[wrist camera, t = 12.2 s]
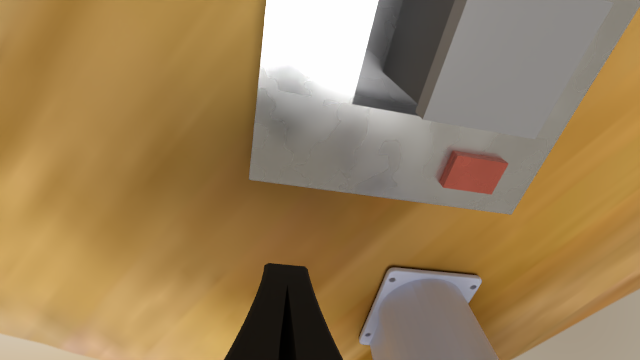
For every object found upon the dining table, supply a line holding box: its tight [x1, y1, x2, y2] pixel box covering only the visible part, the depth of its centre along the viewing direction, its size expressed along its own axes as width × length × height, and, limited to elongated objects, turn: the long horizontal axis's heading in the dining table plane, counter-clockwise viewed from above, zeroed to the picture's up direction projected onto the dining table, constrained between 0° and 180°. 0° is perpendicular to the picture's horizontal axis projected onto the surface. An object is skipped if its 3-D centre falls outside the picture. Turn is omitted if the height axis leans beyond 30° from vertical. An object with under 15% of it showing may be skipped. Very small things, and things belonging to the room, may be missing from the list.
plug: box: [383, 0, 614, 139], centre depth 13 cm, size 4×4×7 cm
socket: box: [249, 0, 640, 214], centre depth 16 cm, size 14×16×3 cm
